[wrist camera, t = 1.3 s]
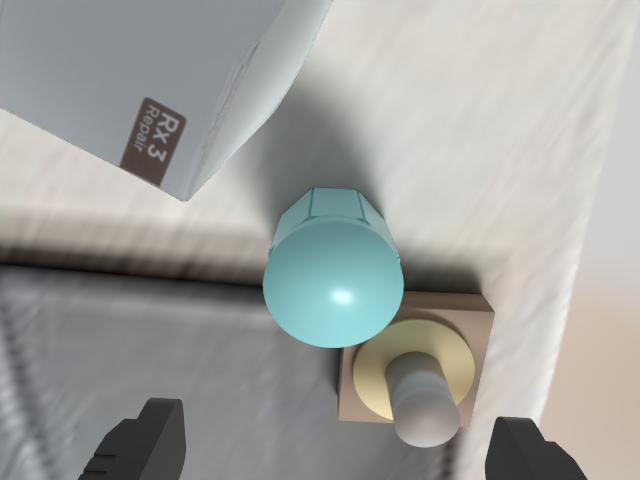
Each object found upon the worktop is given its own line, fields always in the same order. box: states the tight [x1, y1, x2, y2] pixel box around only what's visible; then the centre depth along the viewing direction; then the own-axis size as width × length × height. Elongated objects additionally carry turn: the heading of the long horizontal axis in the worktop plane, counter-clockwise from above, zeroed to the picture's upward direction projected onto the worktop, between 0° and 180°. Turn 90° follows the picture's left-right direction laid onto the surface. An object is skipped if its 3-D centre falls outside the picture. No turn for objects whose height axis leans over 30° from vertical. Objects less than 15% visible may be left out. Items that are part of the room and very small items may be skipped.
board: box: [338, 291, 495, 447], centre depth 23 cm, size 8×8×6 cm
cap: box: [263, 187, 404, 348], centre depth 21 cm, size 6×6×6 cm
